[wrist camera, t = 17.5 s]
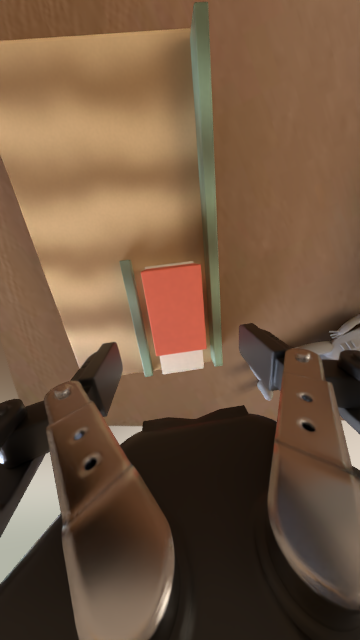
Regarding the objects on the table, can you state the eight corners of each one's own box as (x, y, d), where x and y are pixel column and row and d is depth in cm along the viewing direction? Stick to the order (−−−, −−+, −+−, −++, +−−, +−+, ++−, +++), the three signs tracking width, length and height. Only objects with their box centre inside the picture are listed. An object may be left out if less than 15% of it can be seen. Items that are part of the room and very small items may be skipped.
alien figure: (256, 372, 23) (455, 290, 21) (242, 353, 28) (404, 284, 25) (272, 412, 26) (449, 344, 23) (256, 388, 31) (404, 329, 28)
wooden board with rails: (-4, 82, 15) (-78, 5, 11) (196, 67, 16) (209, -12, 12) (92, 367, 26) (76, 391, 21) (213, 349, 26) (223, 369, 22)
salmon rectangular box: (145, 266, 19) (139, 269, 14) (191, 261, 19) (200, 261, 14) (162, 361, 23) (161, 388, 18) (199, 356, 23) (209, 381, 18)
